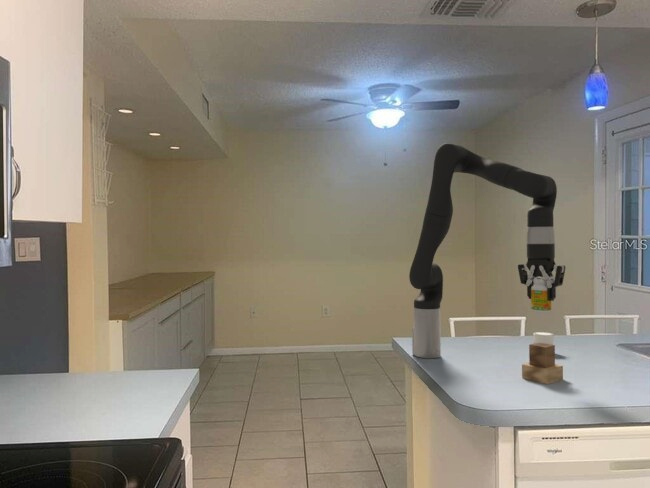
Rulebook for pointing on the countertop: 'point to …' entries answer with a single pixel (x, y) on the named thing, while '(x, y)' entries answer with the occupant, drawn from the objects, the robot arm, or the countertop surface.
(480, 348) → the countertop surface
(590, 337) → the countertop surface
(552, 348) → the walnut block
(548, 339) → the white cylinder
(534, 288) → the supplement bottle
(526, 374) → the oak pedestal
